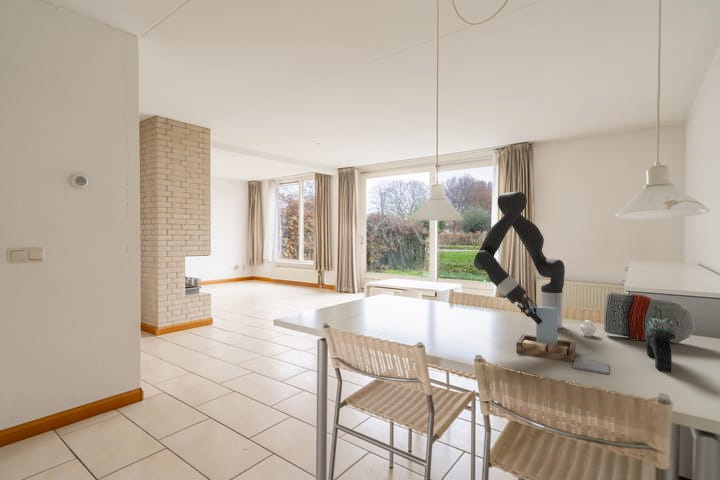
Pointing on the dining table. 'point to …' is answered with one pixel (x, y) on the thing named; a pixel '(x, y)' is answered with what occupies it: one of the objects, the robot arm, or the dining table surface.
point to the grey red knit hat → (644, 315)
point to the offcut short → (558, 349)
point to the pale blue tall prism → (547, 325)
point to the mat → (591, 366)
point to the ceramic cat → (660, 341)
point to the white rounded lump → (588, 328)
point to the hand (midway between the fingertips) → (542, 320)
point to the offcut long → (534, 345)
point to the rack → (547, 354)
